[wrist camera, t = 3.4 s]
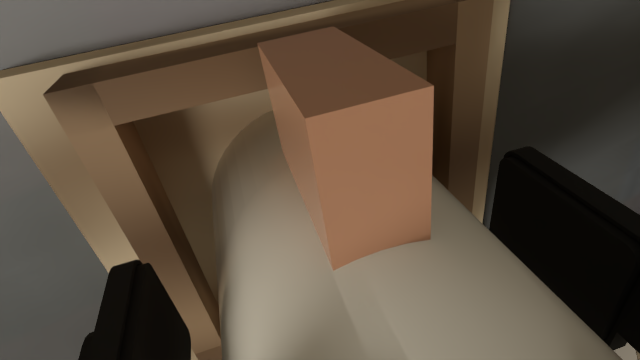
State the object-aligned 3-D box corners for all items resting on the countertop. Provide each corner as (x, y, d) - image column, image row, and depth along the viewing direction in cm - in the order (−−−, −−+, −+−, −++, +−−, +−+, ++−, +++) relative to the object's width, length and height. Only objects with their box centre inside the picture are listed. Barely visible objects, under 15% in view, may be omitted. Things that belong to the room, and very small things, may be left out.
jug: (399, 233, 15) (595, 509, 8) (241, 283, 14) (292, 652, 7) (390, -9, 10) (900, 112, 3) (147, 42, 9) (-41, 427, 2)
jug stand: (454, 362, 24) (478, 401, 22) (235, 444, 22) (239, 496, 20) (491, -33, 12) (555, -29, 10) (-1, 70, 10) (-54, 105, 8)
